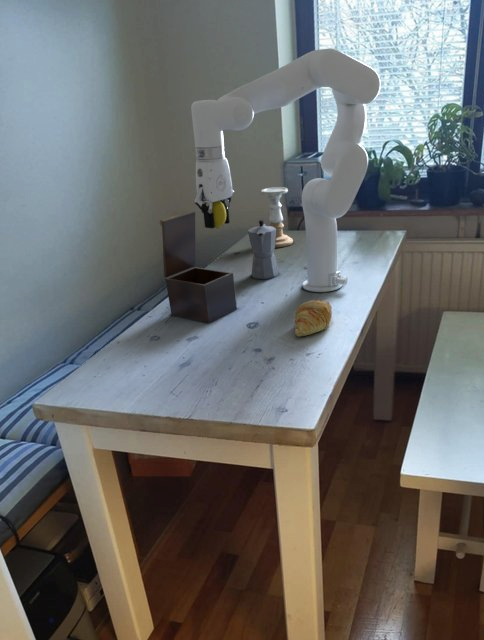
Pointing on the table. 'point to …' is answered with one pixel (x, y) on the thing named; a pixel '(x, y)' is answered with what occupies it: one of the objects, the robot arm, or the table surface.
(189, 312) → the chest
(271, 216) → the candle holder
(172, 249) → the lid
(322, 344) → the table surface
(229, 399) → the table surface
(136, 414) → the table surface
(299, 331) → the croissant
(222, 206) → the lemon
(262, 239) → the coffeepot
